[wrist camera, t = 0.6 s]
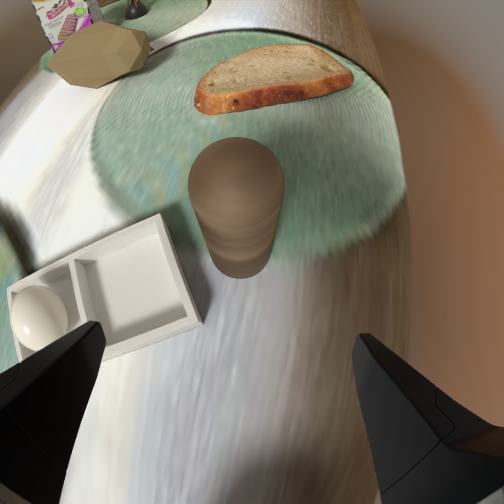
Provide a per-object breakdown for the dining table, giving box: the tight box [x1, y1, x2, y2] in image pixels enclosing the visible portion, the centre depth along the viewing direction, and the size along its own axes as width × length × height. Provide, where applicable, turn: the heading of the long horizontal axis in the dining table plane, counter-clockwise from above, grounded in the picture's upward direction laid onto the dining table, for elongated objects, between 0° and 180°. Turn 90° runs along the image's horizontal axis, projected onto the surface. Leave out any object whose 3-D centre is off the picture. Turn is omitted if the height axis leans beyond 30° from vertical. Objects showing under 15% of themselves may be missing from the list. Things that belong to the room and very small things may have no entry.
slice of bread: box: [194, 44, 354, 115], centre depth 30 cm, size 18×18×4 cm
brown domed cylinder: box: [188, 137, 284, 279], centre depth 18 cm, size 5×5×12 cm
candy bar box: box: [32, 0, 104, 53], centre depth 30 cm, size 11×5×16 cm, turn 92°
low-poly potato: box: [47, 21, 154, 89], centre depth 28 cm, size 15×11×12 cm
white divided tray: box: [7, 213, 203, 362], centre depth 21 cm, size 9×18×2 cm, turn 114°
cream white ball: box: [10, 285, 68, 351], centre depth 19 cm, size 6×6×6 cm
